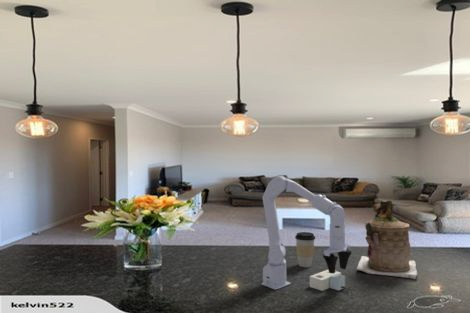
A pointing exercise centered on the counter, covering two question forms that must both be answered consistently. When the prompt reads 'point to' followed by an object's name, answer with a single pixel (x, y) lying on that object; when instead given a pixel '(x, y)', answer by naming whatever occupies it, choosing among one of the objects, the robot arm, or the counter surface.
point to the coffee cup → (305, 248)
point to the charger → (337, 282)
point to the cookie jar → (387, 245)
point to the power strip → (321, 280)
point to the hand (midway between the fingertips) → (337, 270)
